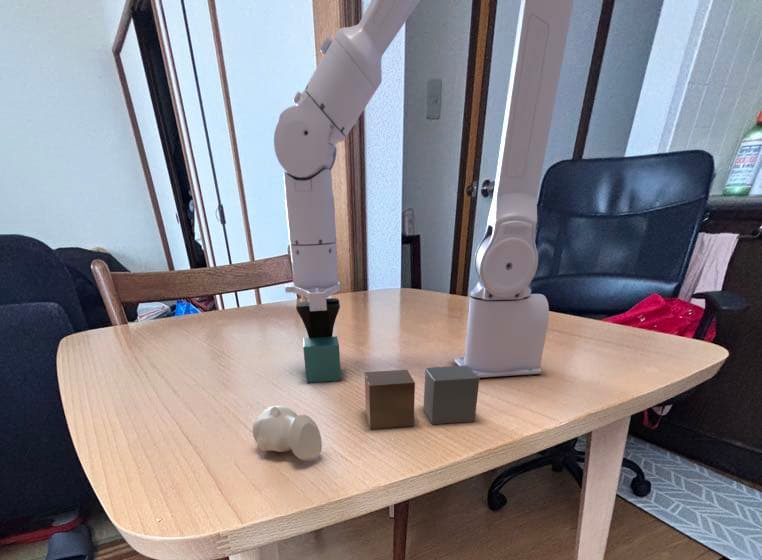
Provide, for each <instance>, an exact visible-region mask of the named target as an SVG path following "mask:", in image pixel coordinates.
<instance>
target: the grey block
mask: <svg viewBox="0 0 762 560" xmlns="http://www.w3.org/2000/svg"><path fill="white" fill-rule="evenodd" d="M480 379H481V378H479V377H478V376H477V375H476V374H475V373H474V372H473V371H472V370H471V369H470V368H469V367H468V366H467V365H464V366H458V365H451V366H435V367H425V372H424V390H423V394H424V395H423V411H424V412H425V415H426V416H427V418H428V420H429V421H430V423H431V425H444V424H457V423H472V422H473V423H474V422H475V421H476V413H477V405H478V395H479V385H480Z"/></svg>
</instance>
